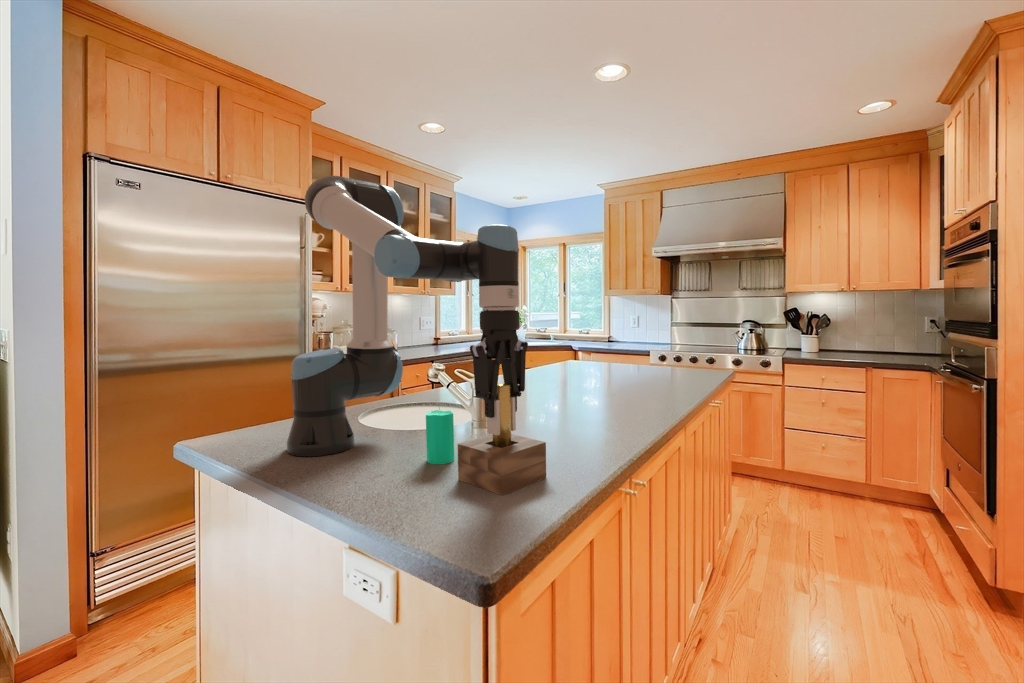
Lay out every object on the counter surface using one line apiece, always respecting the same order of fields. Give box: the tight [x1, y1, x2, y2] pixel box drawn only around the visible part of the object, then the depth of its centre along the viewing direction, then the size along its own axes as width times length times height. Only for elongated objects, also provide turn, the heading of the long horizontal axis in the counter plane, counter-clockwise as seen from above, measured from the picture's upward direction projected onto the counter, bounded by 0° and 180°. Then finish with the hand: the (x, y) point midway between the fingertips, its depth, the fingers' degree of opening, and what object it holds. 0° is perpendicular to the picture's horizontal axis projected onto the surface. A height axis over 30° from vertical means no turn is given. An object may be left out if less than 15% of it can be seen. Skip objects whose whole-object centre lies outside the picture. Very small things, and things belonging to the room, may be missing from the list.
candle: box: [425, 405, 455, 465], centre depth 106 cm, size 6×6×12 cm
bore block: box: [457, 433, 547, 496], centre depth 93 cm, size 12×12×7 cm
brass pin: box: [491, 383, 512, 448], centre depth 93 cm, size 4×4×14 cm
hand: (501, 431), depth 93 cm, fingers closed on brass pin, 3 cm apart
